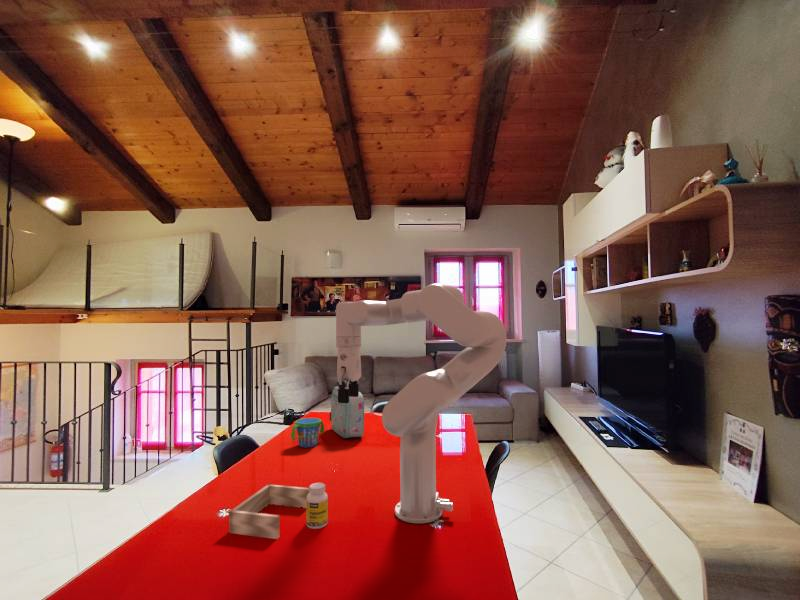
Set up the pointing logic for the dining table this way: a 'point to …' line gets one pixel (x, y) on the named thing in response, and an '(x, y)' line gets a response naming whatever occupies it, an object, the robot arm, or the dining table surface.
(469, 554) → the dining table surface
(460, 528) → the dining table surface
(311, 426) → the snack cup
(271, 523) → the open-sided box
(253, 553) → the dining table surface
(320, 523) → the supplement bottle
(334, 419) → the lunch box
